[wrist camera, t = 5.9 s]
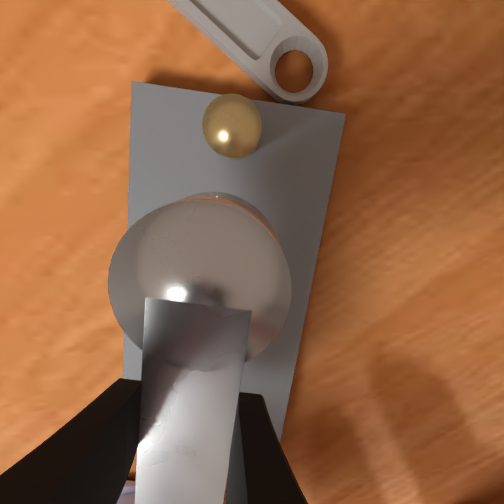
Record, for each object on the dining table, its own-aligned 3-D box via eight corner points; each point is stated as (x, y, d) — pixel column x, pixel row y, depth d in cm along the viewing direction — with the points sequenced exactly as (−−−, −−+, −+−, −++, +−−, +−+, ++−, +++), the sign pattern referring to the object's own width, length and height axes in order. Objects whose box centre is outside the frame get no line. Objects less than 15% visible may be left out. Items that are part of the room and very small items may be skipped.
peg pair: (217, 449, 18) (210, 505, 15) (182, 446, 18) (168, 501, 15) (262, 113, 13) (266, 98, 10) (215, 106, 13) (204, 89, 10)
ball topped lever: (242, 487, 13) (239, 580, 10) (136, 476, 13) (102, 567, 10) (290, 201, 10) (306, 214, 7) (152, 182, 10) (109, 187, 7)
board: (274, 447, 19) (275, 462, 18) (127, 431, 18) (120, 446, 18) (339, 117, 14) (346, 113, 13) (140, 87, 14) (131, 81, 13)
